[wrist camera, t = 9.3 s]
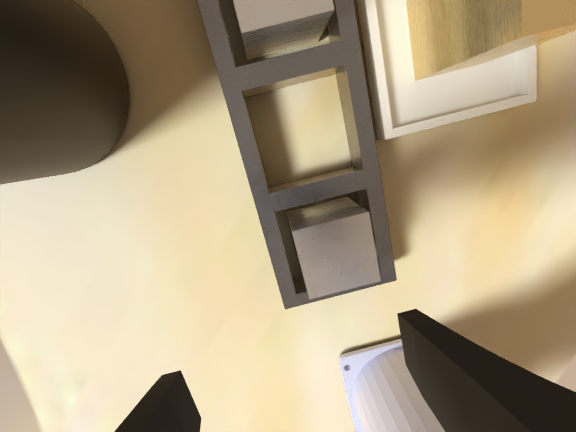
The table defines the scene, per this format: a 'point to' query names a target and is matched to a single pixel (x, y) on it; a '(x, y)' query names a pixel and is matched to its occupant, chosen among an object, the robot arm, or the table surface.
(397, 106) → the parts tray
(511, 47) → the wooden block
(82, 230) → the table surface
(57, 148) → the mug
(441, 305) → the table surface
